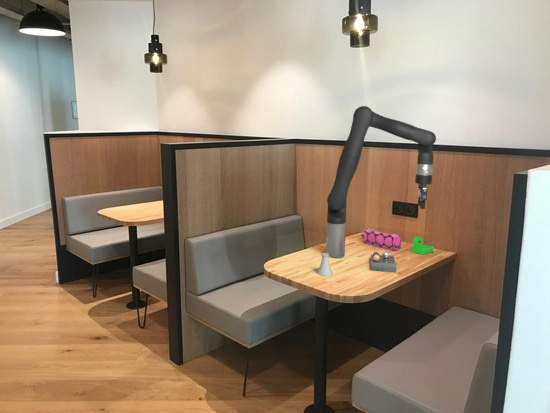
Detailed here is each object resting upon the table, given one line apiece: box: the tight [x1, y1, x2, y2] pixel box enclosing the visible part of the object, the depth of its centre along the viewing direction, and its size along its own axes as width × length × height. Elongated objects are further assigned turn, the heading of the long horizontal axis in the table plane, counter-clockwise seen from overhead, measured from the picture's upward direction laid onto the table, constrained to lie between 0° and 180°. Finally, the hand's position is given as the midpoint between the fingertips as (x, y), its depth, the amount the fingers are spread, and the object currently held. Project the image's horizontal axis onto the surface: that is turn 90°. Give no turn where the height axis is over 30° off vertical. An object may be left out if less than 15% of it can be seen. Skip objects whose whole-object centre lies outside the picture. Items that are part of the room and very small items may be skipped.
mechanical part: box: [412, 236, 434, 256], centre depth 232 cm, size 12×6×8 cm, turn 127°
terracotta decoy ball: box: [373, 254, 380, 261], centre depth 206 cm, size 3×3×3 cm
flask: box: [316, 252, 333, 277], centre depth 193 cm, size 7×7×10 cm
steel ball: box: [382, 251, 390, 258], centre depth 212 cm, size 3×3×3 cm
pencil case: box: [361, 226, 403, 252], centre depth 240 cm, size 21×10×10 cm, turn 45°
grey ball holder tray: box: [370, 254, 398, 273], centre depth 208 cm, size 11×18×4 cm, turn 169°
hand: (421, 207), depth 210 cm, fingers open, 8 cm apart
